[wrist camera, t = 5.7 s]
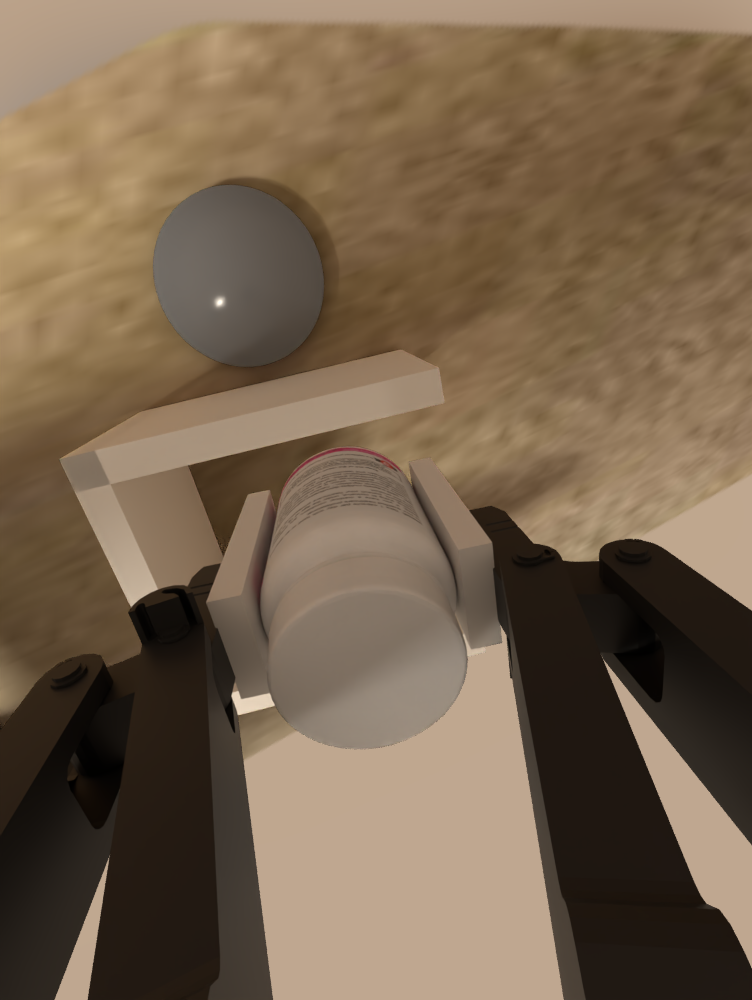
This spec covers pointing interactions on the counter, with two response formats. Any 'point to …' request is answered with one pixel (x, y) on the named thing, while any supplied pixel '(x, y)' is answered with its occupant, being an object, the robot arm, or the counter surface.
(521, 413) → the counter surface
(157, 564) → the cubby
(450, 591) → the pill bottle
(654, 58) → the counter surface
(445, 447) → the counter surface
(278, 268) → the coaster
